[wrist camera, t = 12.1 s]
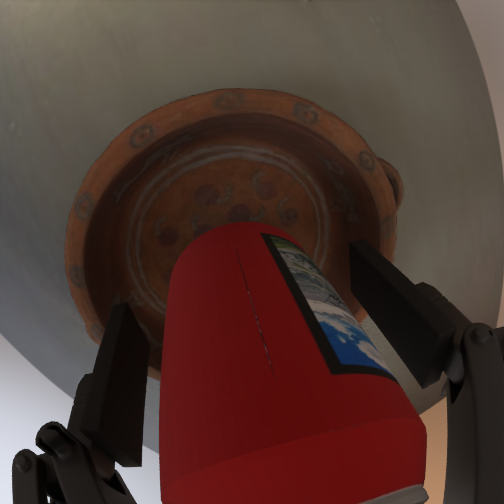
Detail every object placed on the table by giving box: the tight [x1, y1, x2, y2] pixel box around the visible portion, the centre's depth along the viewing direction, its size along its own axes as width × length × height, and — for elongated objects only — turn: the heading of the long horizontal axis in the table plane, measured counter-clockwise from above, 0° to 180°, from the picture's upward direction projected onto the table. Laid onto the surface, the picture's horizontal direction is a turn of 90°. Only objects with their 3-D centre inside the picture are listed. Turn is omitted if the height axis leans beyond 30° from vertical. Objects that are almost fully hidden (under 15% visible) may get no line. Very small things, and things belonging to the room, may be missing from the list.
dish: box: [64, 88, 403, 381], centre depth 17 cm, size 18×22×5 cm
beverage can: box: [159, 222, 429, 504], centre depth 9 cm, size 7×7×12 cm
